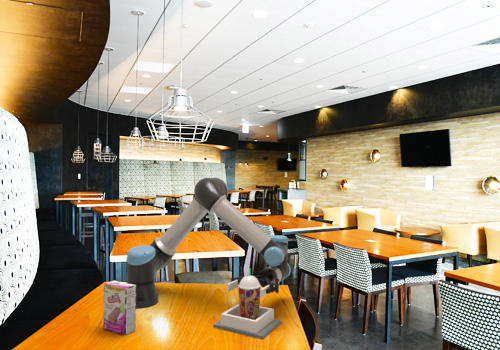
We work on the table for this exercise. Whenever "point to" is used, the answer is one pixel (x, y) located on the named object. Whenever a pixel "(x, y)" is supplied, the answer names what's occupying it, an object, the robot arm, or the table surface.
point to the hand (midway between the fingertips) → (244, 290)
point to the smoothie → (249, 297)
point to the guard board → (248, 322)
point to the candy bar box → (119, 307)
